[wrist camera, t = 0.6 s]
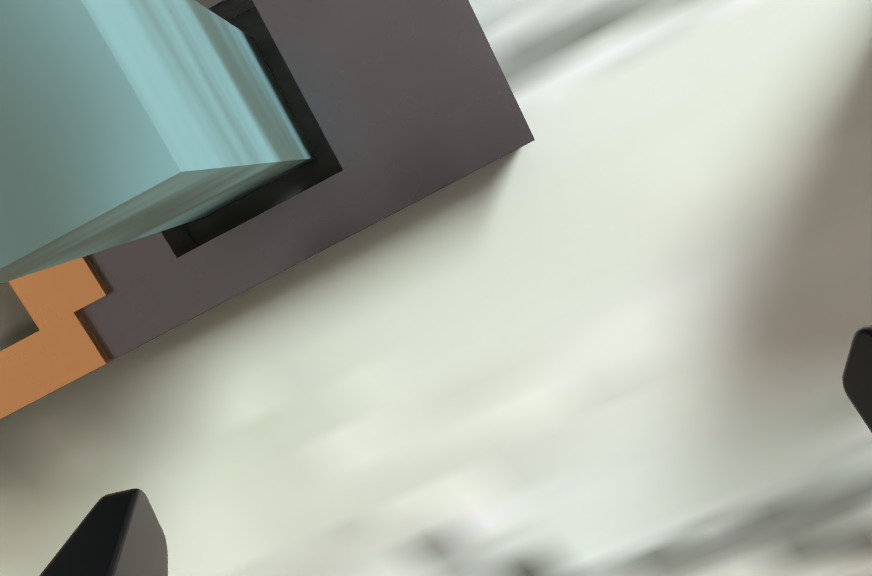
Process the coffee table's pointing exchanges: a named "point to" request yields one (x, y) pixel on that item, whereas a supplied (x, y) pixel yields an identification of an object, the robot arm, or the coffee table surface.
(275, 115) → the peg
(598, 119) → the coffee table surface
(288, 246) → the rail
